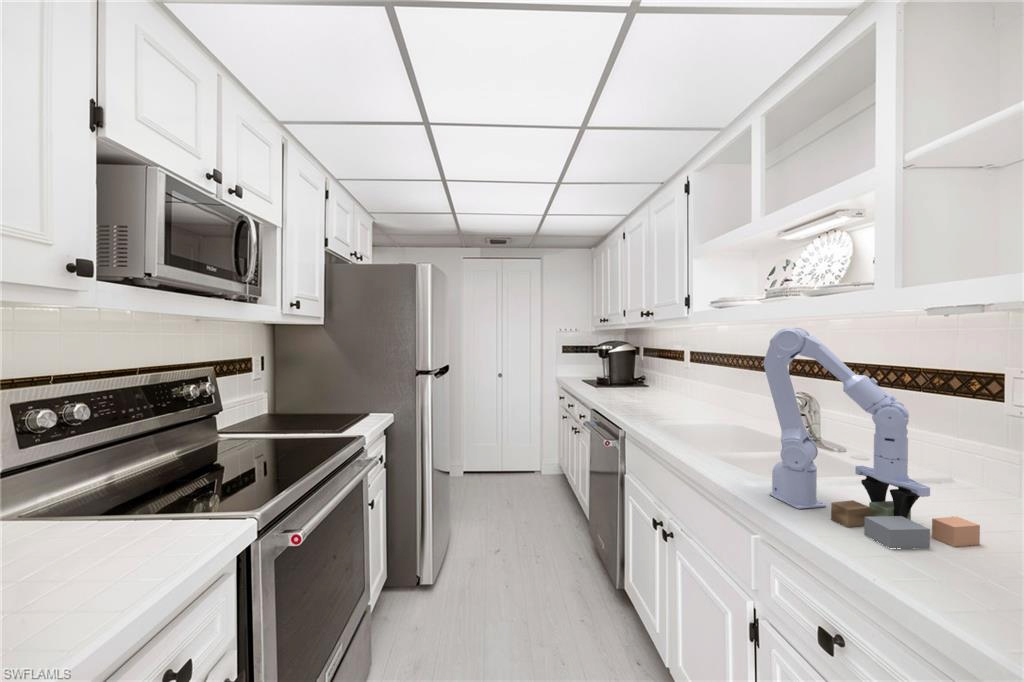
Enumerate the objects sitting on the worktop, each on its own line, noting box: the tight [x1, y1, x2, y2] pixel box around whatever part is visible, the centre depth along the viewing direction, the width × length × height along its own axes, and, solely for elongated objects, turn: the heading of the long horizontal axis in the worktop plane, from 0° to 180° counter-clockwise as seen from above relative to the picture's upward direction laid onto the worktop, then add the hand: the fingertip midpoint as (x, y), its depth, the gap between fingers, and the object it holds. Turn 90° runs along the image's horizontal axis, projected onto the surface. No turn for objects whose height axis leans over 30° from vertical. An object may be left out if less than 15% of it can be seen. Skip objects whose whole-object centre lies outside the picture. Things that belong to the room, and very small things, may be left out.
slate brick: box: [864, 516, 931, 550], centre depth 87 cm, size 6×8×4 cm
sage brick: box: [868, 500, 912, 521], centre depth 95 cm, size 4×6×4 cm, turn 97°
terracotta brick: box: [931, 516, 981, 548], centre depth 87 cm, size 4×6×4 cm, turn 97°
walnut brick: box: [830, 499, 870, 529], centre depth 96 cm, size 4×6×4 cm, turn 101°
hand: (889, 516), depth 95 cm, fingers closed on sage brick, 4 cm apart
